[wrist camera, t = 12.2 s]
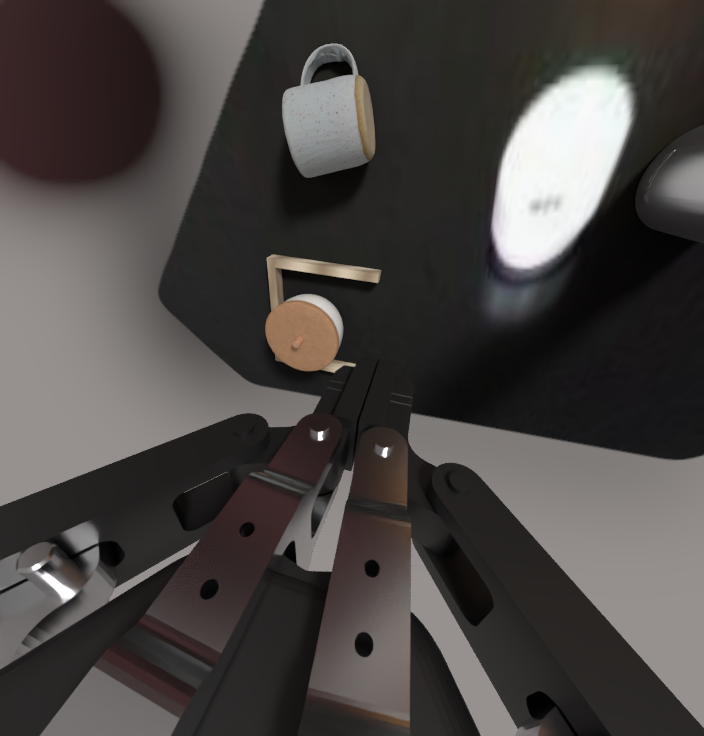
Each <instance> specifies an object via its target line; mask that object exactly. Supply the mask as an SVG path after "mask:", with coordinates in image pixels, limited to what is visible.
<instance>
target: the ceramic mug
mask: <svg viewBox="0 0 704 736" xmlns="http://www.w3.org/2000/svg"><path fill="white" fill-rule="evenodd" d="M335 61H338V62H342V61H346V62H348V64H349V65H350V66H351V67H352V70H353V75H345V76H340V77H336V78H333V79H330V80H327V81H322V82H317V83H312V84H310V82H311V78H312V76H313V74H314V72H315V71H316V69H317V68H318V67H319V66H321V65H322V64H324V63H329V62H335ZM282 115H283V123H284V129H285V134H286V138H287V142H288V145H289V149H290V152H291V155H292V158H293V160H294V163H295V165H296V166H297V168H298V170H299V171H300V173H301V174H302V175H303V176H304V177H306V178H311V177H315V176H319V175H324V174H328V173H332V172H336V171H339V170H344V169H348V168H352V167H357V166H360V165H362V164H365V163H367V162H369V161H370V160H371V159H372V158H373V156H374V154H375V129H374V119H373V111H372V105H371V99H370V94H369V89H368V86H367V83H366V81H365V79H363V78H362V77H361V76H359V75H358V71H357V67H356V64H355V61H354V58H353V56H352V54H351V52H350V51H349V50H348V49H347V48H346V47H344V46H342V45H340V44H327V45H324V46H321V47H319V48H318V49H316V50H315V51H314V52H313V53H312V54H311V55H310V57H309V58H308V60H307V62H306V64H305V66H304V69H303V73H302V78H301V86H298V87H293V88H290V89H287V90H286V91H285V93H284V94H283V100H282Z"/></svg>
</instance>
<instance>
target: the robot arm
mask: <svg viewBox="0 0 704 736" xmlns="http://www.w3.org/2000/svg"><path fill="white" fill-rule="evenodd" d="M635 208H636V211H637V214H638V217H639V218H640V220H641V221H642V222H643V223H644V224H645V225H646V226H648V227H649V228H651V229H654V230H657V231H660V232H664V233H668V234H672V235H675V236H679V237H682V238H686V239H690V240H693V241H697V242H701V243H704V125H702V126H699V127H697V128H695V129H693V130H691V131H689V132H687V133H685V134H683V135H682V136H680V137H679V138H678V139H676V140H675V141H673V142H672V143H670V144H669V145H668V146H667V147H666V148H665V149H664V150H663V151H661V152H660V153H659V154H658V155H657V157H656V158H655V159H654V160H653V161H652V162H651V164H650V165H649V166H648V168H647V170H646V171H645V173H644V174H643V176H642V178H641V180H640V183H639V185H638V187H637V192H636V197H635ZM378 361H379V363H378ZM397 367H398V362H393V361H388V360H383V359H380V360H379V359H377V358H372V357H367V356H362V355H360V356H359V358H358V360H357V363H356V365H355V367H352V366H347V365H344V366H342V367H341V368H339V369H338V370H336V371H335V373H334V375H333V377H332V378H331V381H330V382H329V384H328V386H327V388H326V390H325V392H324V393H323V395H322V397H321V399H320V401H319V403H318V405H317V407H316V409H315V410H314V412H313V413H312V414H309V415H307V416H305V417H303V418H302V419H301V420H300V421H299V422H298V423H297V425H296V426H291V427H272V428H271V427H268V423H267V421H266V420H265V419H264V418H263V417H262V416H259V415H257V414H251V413H247V414H240V415H236V416H234V417H231V418H228V419H226V420H223V421H221V422H218V423H215V424H213V425H210V426H208V427H205V428H202V429H200V430H197V431H195V432H192V433H190V434H187V435H184V436H182V437H179V438H177V439H174V440H171V441H169V442H166V443H164V444H161V445H159V446H156V447H153V448H151V449H148V450H145V451H143V452H140V453H138V454H136V455H132V456H130V457H127V458H125V459H122V460H120V461H117V462H114V463H112V464H109V465H106V466H104V467H101V468H99V469H96V470H93V471H91V472H88V473H86V474H83V475H81V476H78V477H76V478H73V479H70V480H68V481H65V482H63V483H60V484H57V485H55V486H52V487H49V488H47V489H44V490H42V491H39V492H37V493H34V494H31V495H29V496H26V497H24V498H21V499H18V500H16V501H13V502H11V503H8V504H5V505H3V506H0V736H480V733H479V731H478V729H477V727H476V725H475V723H474V720H473V718H472V716H471V714H470V712H469V710H468V708H467V706H466V703H465V701H464V699H463V697H462V695H461V693H460V691H459V689H458V687H457V685H456V683H455V680H454V678H453V676H452V674H451V672H450V670H449V668H448V665H447V663H446V661H445V659H444V657H443V655H442V653H441V651H440V649H439V648H438V646H437V645H436V643H435V641H434V639H433V638H432V636H431V635H430V633H429V632H428V630H427V629H426V628H425V626H424V625H423V624H422V623H421V622H420V621H419V619H418V618H417V617H416V616H415V615H414V614H413V613H412V612H411V611H410V608H411V538H412V541H413V544H414V547H415V549H416V550H417V552H418V554H419V556H420V557H421V559H422V561H423V563H424V564H425V566H426V568H427V570H428V572H429V573H430V575H431V577H432V579H433V580H434V582H435V584H436V586H437V587H438V589H439V591H440V593H441V594H442V596H443V598H444V600H445V601H446V603H447V605H448V607H449V609H450V610H451V612H452V614H453V615H454V617H455V619H456V621H457V623H458V624H459V626H460V628H461V630H462V631H463V633H464V635H465V637H466V638H467V640H468V642H469V644H470V645H471V647H472V649H473V651H474V653H475V654H476V656H477V658H478V659H479V661H480V663H481V665H482V667H483V668H484V670H485V672H486V674H487V675H488V677H489V679H490V681H491V682H492V684H493V686H494V688H495V689H496V691H497V693H498V695H499V696H500V698H501V700H502V702H503V703H504V705H505V707H506V709H507V711H508V712H509V714H510V716H511V718H512V719H513V721H514V723H515V725H516V726H517V728H518V731H517V733H516V736H704V728H703V727H702V726H701V725H700V724H699V722H698V721H697V720H696V719H695V718H694V717H693V716H692V715H691V713H690V712H689V711H688V710H687V709H686V708H685V707H684V706H683V705H682V704H681V702H680V701H679V700H678V699H677V698H676V697H675V696H674V695H673V693H672V692H671V691H670V690H669V689H668V688H667V687H666V686H665V684H664V683H663V682H662V681H661V680H660V679H659V678H658V677H657V675H656V674H655V673H654V672H653V671H652V670H651V669H650V667H649V666H648V665H647V664H646V663H645V662H644V661H643V660H642V658H641V657H640V656H639V655H638V654H637V653H636V652H635V651H634V650H633V648H632V647H631V646H630V645H629V644H628V643H627V642H626V641H625V639H624V638H622V636H621V635H620V634H619V633H618V632H617V630H616V629H615V628H614V627H613V626H612V625H611V624H610V623H609V621H608V620H607V619H606V618H605V617H604V616H603V615H602V614H601V612H600V611H599V610H598V609H597V608H596V607H595V606H594V605H593V604H592V603H591V601H590V600H589V599H588V598H587V597H586V596H585V595H584V594H583V593H582V591H581V590H580V589H579V588H578V587H577V586H576V584H575V583H574V582H573V581H572V580H571V579H570V578H569V577H568V575H566V573H565V572H564V571H563V570H562V569H561V568H560V567H559V565H558V564H557V563H556V562H555V561H554V560H553V559H552V558H551V557H550V555H549V554H548V553H547V552H546V551H545V550H544V549H543V547H542V546H541V545H540V544H539V543H538V542H537V541H536V540H535V539H534V537H533V536H532V535H531V534H530V533H529V532H528V531H527V530H526V529H525V527H524V526H523V525H522V524H521V523H520V522H519V521H518V519H517V518H516V517H515V516H514V515H513V514H512V513H511V512H510V510H509V509H508V508H507V507H506V506H505V505H504V504H503V503H502V501H501V500H500V499H499V498H498V497H497V496H496V495H495V494H494V492H493V491H492V490H491V489H490V488H489V487H488V486H487V485H486V483H485V482H484V481H483V480H482V479H481V478H480V477H479V476H478V475H477V474H476V473H475V472H473V471H472V470H471V469H469V468H468V467H465V466H463V465H460V464H456V463H445V464H441V465H439V466H438V467H435V466H434V465H432V464H430V463H428V462H426V461H424V460H423V459H421V458H420V457H419V456H417V455H416V454H415V453H414V451H413V450H412V449H411V447H410V445H409V442H408V430H409V423H410V415H411V407H412V400H413V399H412V398H413V392H414V386H413V384H412V382H411V380H410V378H407V377H402V376H397V375H396V373H397ZM354 460H355V461H354ZM353 463H354V470H353V477H352V482H351V487H350V492H349V497H348V500H347V501H346V505H345V510H344V515H343V520H342V524H341V529H340V534H339V539H338V544H337V549H336V554H335V559H334V564H333V569H332V572H316V571H313V572H312V571H308V568H309V564H310V561H311V557H312V552H313V549H314V546H315V543H316V540H317V538H318V535H319V533H320V531H321V529H322V526H323V523H324V521H325V519H326V517H327V514H328V512H329V509H330V507H331V504H332V502H333V500H334V498H335V495H336V493H337V490H338V484H339V482H340V480H341V477H342V473H343V471H344V469H345V470H349V471H351V470H352V467H353ZM225 472H227V473H225ZM223 473H224V474H223ZM221 474H222V475H221ZM219 475H220V476H219ZM216 476H218V477H216ZM214 477H216V478H214ZM213 478H214V479H213ZM210 479H212V480H210ZM208 480H210V481H208ZM206 481H208V482H206ZM204 482H206V483H204ZM202 483H204V484H202ZM200 484H202V485H200ZM198 485H199V486H198ZM196 486H197V487H196ZM194 487H196V488H194ZM191 488H193V489H191ZM189 489H191V490H189ZM187 490H189V491H187ZM185 491H187V492H185ZM184 492H185V493H184ZM198 540H199V542H198V543H197V544H196V546H195V547H194V548H193V550H192V551H191V553H190V554H189V555H187V556H185V557H183V558H181V559H178V560H177V561H175V562H173V563H171V564H170V565H168V566H167V567H165V568H163V569H162V570H160V571H158V572H157V573H155V574H153V575H152V576H150V577H149V578H147V579H145V580H144V581H142V582H141V583H139V584H137V585H136V586H134V587H133V588H131V589H129V590H128V591H126V592H124V593H123V594H121V595H120V596H118V597H116V598H115V599H113V600H112V601H110V602H109V598H110V596H111V595H112V593H113V591H114V588H116V587H117V586H119V585H121V584H122V583H124V582H126V581H128V580H130V579H131V578H133V577H135V576H137V575H138V574H140V573H142V572H144V571H145V570H147V569H149V568H151V567H152V566H154V565H156V564H158V563H159V562H161V561H163V560H165V559H166V558H168V557H170V556H172V555H173V554H175V553H177V552H178V551H180V550H182V549H184V548H186V547H187V546H189V545H191V544H192V543H194V542H196V541H198Z"/></svg>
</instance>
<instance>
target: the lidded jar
mask: <svg viewBox="0 0 704 736" xmlns="http://www.w3.org/2000/svg"><path fill="white" fill-rule="evenodd" d="M265 330H266V337H267V341H268V343H269V346H270V347H271V349H272V351H273V352H274V353H275V355H276V356H277V357H278V358H279V359H280V360H282V361H283V362H284V363H286V364H287V365H289V366H291V367H293V368H295V369H298V370H303V371H316V370H320V369H322V368H324V367H326V366H328V365H329V364H330V363H331V362H332V360H333V359H334V358H335V356H336V354H337V351H338V349H339V346H340V344H341V341H342V337H343V323H342V319H341V316H340V314H339V312H338V310H337V309H336V307H335V306H334V305H333V304H332V303H331V302H330V301H328V300H327V299H325V298H323V297H321V296H318V295H313V294H302V295H297V296H295V297H292V298H290V299H288V300H286V301H285V302H283V303H282V304H280V305H278V306H277V307H276V308H275V309H273V310H272V311H271V313H270V314H269V316H268V318H267V321H266V328H265Z"/></svg>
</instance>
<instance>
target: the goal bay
mask: <svg viewBox="0 0 704 736" xmlns="http://www.w3.org/2000/svg"><path fill="white" fill-rule="evenodd" d="M267 267H268V278H269V290H270V301H271V311H272V310H273V309H275V308H276V307H277V306H278V305H280V304H282V303H283V302H284V301H283V284H282V269H288V270H295V271H302V272H308V273H315V274H321V275H328V276H335V277H341V278H348V279H354V280H361V281H368V282H374V283H378V282H379V280H380V276H381V270H377V269H370V268H363V267H356V266H349V265H342V264H335V263H328V262H321V261H314V260H307V259H300V258H293V257H286V256H279V255H271V256H269V257H267ZM275 358H276V361H280V362H283V361H282V360H280V359H279V358H278V357H277V356H276V355H275ZM344 365H347V366H352V367H355V365H356V364H352V363H347V362H342V361H337V360H332V362H331V363H330V364H329V365H328V366H326V367H324V368H322V369H320V370H324V371H329V372H334V373H335V371H336V370H338V369H339V368H341V367H342V366H344Z"/></svg>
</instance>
